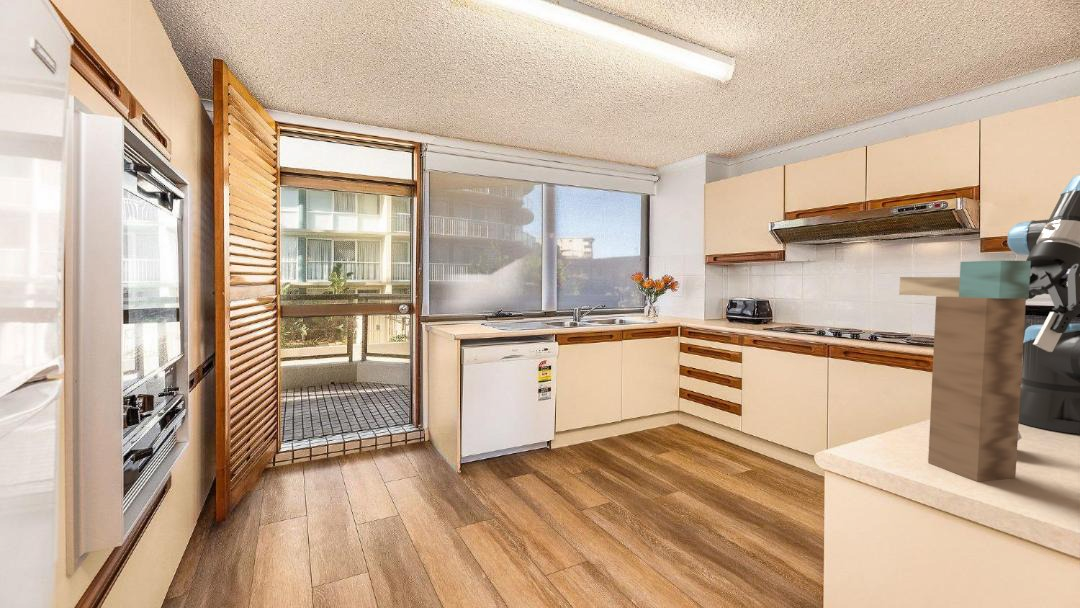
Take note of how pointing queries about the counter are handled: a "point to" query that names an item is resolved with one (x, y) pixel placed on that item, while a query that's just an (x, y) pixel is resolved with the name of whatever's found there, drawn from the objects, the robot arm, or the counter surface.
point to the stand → (976, 386)
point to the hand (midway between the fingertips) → (1008, 347)
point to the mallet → (975, 281)
